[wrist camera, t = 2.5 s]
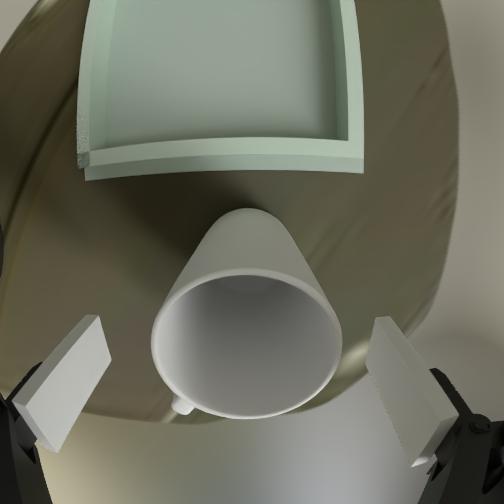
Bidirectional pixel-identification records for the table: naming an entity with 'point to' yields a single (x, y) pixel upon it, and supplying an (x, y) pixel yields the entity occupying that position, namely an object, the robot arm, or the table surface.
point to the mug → (246, 324)
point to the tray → (219, 87)
